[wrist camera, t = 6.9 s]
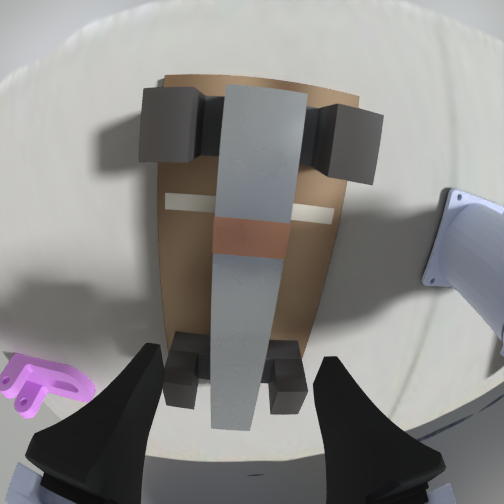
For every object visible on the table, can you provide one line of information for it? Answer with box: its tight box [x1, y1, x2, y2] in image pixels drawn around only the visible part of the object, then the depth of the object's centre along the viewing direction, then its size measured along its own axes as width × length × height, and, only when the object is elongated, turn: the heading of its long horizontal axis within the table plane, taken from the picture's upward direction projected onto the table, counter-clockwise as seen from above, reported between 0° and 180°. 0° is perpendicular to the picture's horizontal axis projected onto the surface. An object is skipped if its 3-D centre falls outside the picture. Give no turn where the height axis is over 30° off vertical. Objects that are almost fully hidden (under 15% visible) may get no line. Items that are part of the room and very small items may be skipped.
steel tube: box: [210, 84, 308, 431], centre depth 15 cm, size 3×22×3 cm, turn 174°
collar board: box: [139, 74, 384, 414], centre depth 15 cm, size 11×22×6 cm, turn 174°
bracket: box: [0, 353, 95, 419], centre depth 22 cm, size 13×6×7 cm, turn 93°
